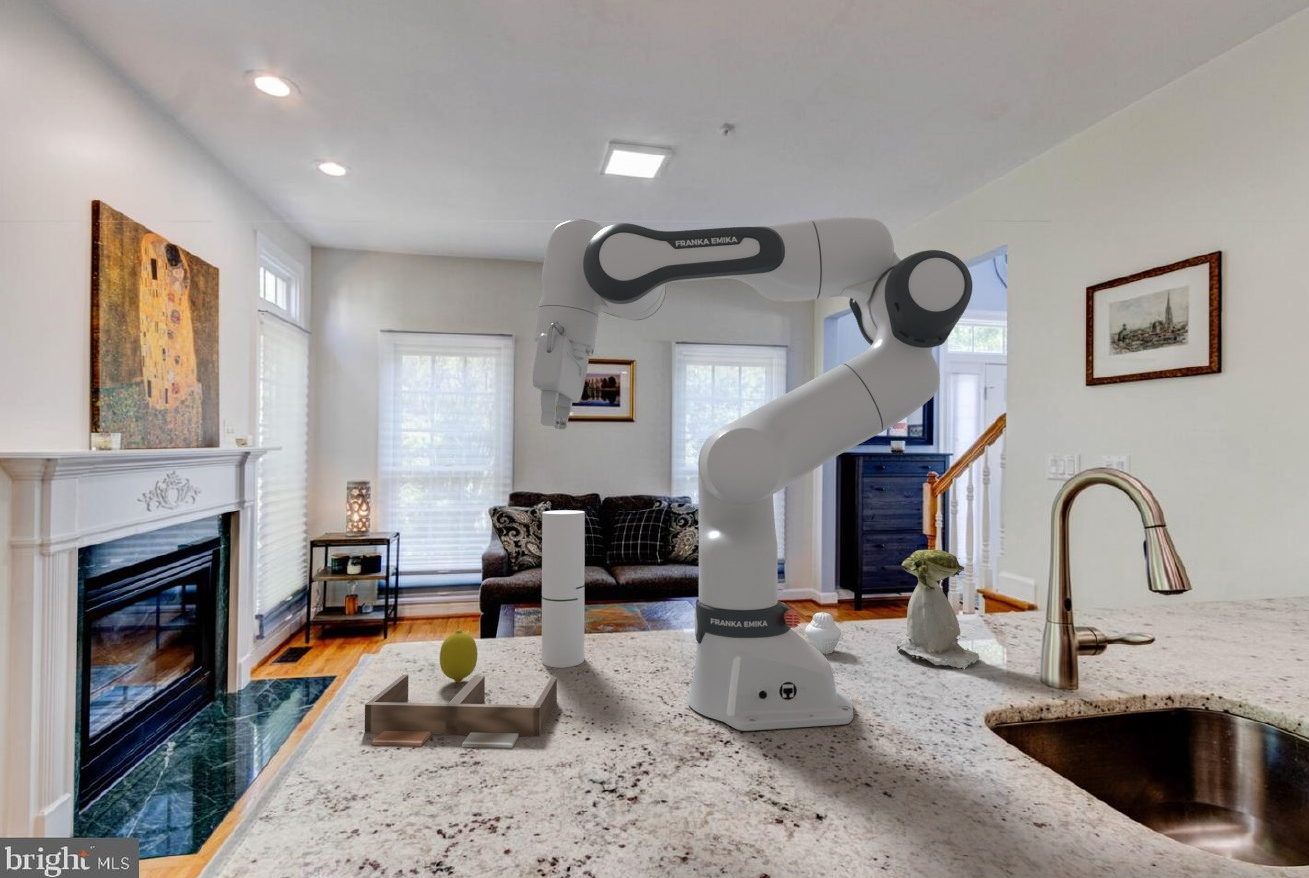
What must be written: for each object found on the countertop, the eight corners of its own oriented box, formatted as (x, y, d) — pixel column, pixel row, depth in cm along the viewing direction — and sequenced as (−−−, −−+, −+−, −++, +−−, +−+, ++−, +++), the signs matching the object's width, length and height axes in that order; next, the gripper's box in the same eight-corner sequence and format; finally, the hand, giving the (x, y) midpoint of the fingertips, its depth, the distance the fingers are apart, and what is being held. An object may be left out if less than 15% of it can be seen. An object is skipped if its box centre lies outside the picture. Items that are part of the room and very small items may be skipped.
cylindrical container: (592, 658, 109) (593, 511, 109) (565, 670, 103) (566, 514, 103) (560, 651, 112) (561, 509, 113) (532, 662, 106) (533, 512, 107)
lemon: (466, 690, 94) (466, 635, 94) (432, 687, 95) (432, 633, 95) (483, 677, 99) (484, 625, 99) (451, 674, 100) (451, 623, 101)
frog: (934, 673, 101) (933, 557, 102) (881, 649, 114) (880, 546, 114) (993, 665, 105) (992, 553, 106) (935, 643, 117) (934, 543, 118)
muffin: (838, 658, 108) (837, 617, 108) (801, 654, 111) (801, 613, 111) (843, 648, 114) (843, 609, 114) (809, 644, 116) (809, 606, 117)
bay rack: (556, 702, 89) (556, 677, 89) (533, 748, 75) (533, 718, 75) (402, 699, 90) (402, 674, 90) (351, 744, 76) (351, 714, 76)
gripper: (576, 319, 82) (563, 425, 82) (595, 348, 103) (585, 433, 102) (528, 314, 82) (514, 420, 82) (557, 343, 103) (546, 428, 102)
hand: (554, 427), depth 92 cm, fingers open, 8 cm apart
